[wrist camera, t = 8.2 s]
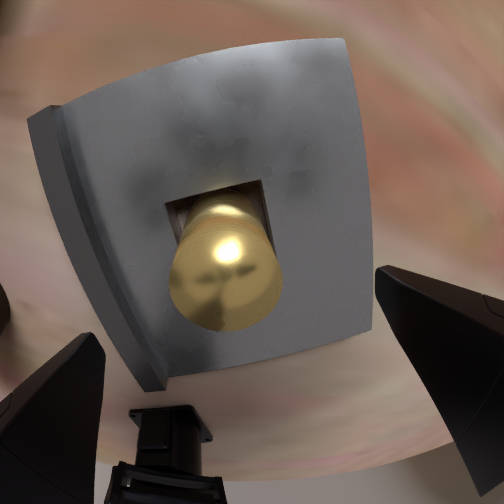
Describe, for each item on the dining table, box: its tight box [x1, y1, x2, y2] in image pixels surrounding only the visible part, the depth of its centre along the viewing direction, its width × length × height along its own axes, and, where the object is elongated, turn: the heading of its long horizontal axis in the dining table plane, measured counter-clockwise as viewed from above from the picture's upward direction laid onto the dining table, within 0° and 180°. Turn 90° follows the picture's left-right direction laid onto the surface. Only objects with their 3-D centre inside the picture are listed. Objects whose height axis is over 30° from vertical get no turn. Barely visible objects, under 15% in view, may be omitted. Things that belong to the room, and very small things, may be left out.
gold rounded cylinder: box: [169, 188, 283, 332], centre depth 13 cm, size 4×4×7 cm
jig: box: [27, 38, 373, 392], centre depth 15 cm, size 18×16×3 cm
